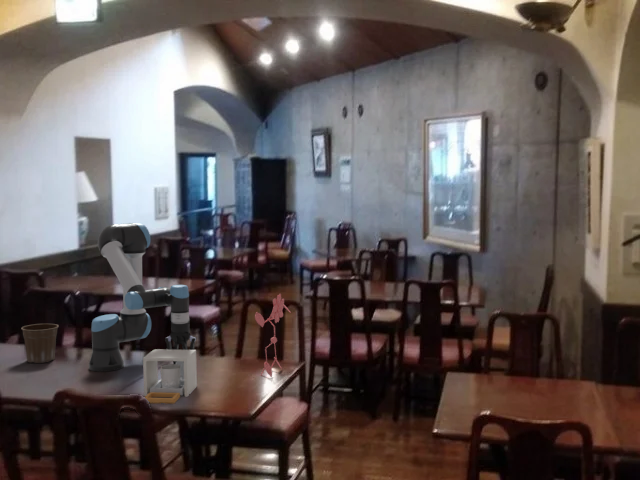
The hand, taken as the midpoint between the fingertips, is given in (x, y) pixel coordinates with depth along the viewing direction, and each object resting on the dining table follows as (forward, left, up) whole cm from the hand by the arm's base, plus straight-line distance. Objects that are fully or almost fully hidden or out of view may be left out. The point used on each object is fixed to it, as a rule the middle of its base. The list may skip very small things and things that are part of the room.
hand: (181, 376), depth 299 cm
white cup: (+15, 0, -2) cm, 15 cm away
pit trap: (+27, 0, -2) cm, 27 cm away
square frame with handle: (+10, 0, -1) cm, 10 cm away
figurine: (-12, +40, -2) cm, 42 cm away
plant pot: (-30, -76, -2) cm, 82 cm away
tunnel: (+15, 0, -2) cm, 15 cm away
